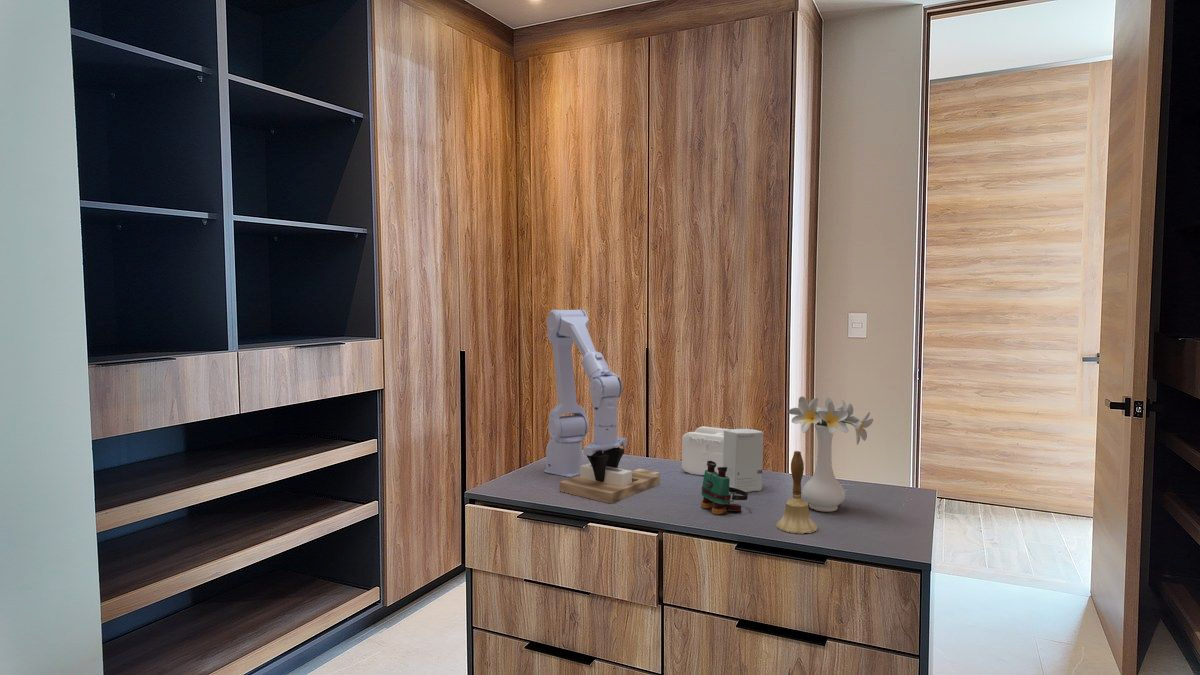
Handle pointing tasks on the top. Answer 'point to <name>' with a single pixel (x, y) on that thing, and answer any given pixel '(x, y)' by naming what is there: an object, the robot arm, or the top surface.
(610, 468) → the white rectangular block
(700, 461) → the white rounded box
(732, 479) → the skincare box
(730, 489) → the binoculars
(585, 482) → the keyhole board
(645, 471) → the block
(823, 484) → the flower vase
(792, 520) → the hand bell
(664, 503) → the top surface
